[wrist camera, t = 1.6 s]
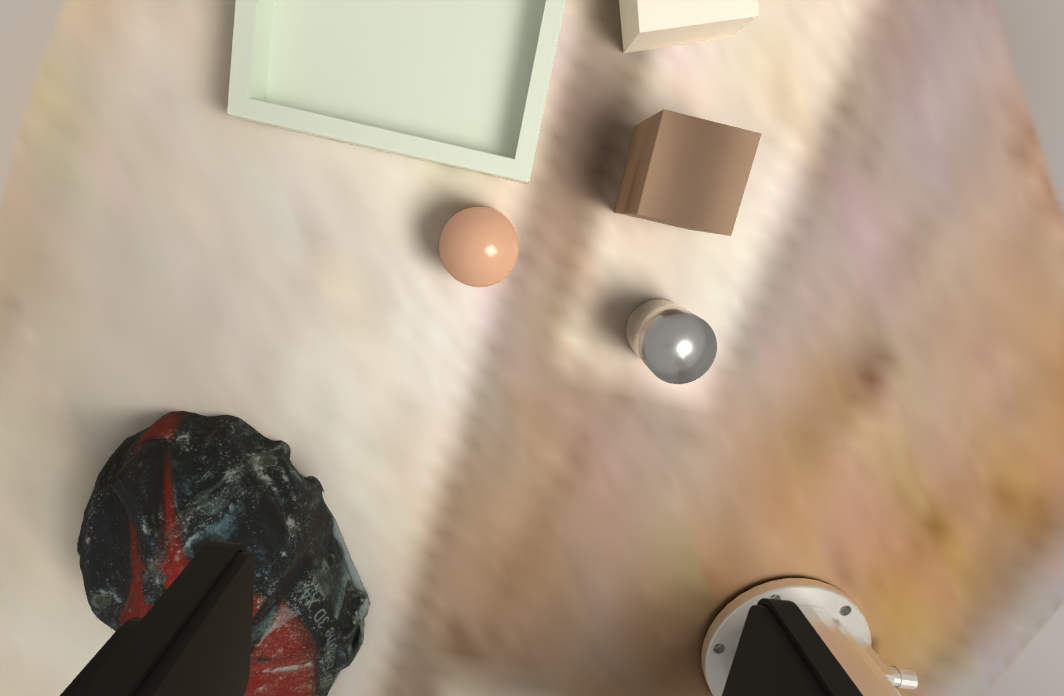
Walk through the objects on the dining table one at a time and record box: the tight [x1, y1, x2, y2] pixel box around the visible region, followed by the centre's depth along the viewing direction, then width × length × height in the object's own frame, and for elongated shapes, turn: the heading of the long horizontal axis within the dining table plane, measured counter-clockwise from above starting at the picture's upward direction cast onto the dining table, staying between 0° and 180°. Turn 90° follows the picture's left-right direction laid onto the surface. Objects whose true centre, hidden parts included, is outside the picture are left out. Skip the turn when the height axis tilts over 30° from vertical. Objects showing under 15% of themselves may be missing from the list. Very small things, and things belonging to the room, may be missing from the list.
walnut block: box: [614, 110, 761, 236], centre depth 30 cm, size 5×5×6 cm
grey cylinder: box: [626, 299, 717, 384], centre depth 33 cm, size 4×4×5 cm
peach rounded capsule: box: [439, 207, 519, 287], centre depth 32 cm, size 4×4×3 cm
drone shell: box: [77, 411, 370, 696], centre depth 35 cm, size 21×20×8 cm
